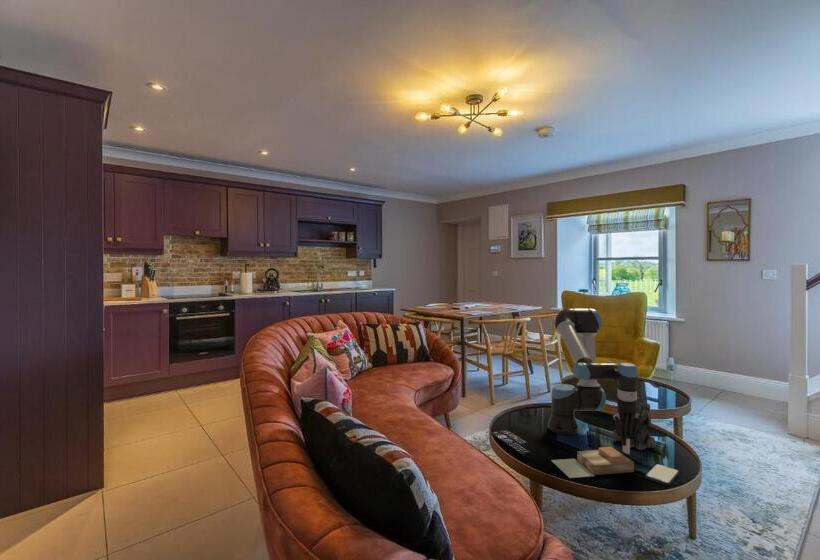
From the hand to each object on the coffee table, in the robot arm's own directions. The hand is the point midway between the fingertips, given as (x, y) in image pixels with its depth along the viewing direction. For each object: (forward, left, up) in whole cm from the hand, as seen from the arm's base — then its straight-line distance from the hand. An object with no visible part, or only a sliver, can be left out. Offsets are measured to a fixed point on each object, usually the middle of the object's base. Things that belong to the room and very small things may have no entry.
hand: (626, 452), depth 175 cm
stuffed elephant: (-19, +18, -5) cm, 27 cm away
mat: (0, -26, -5) cm, 26 cm away
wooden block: (0, -10, -5) cm, 11 cm away
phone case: (+11, +8, -6) cm, 15 cm away
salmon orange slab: (0, -7, -1) cm, 7 cm away
